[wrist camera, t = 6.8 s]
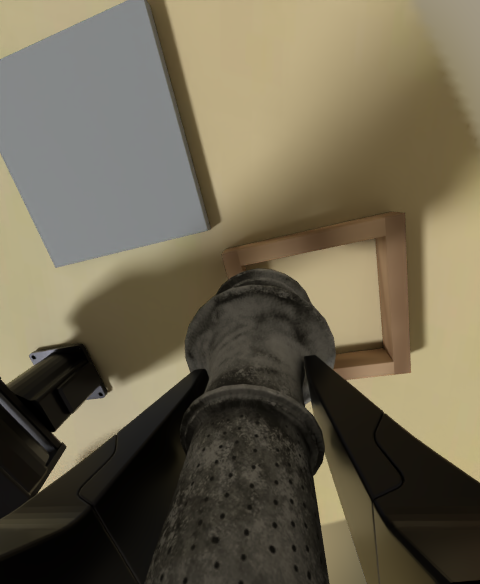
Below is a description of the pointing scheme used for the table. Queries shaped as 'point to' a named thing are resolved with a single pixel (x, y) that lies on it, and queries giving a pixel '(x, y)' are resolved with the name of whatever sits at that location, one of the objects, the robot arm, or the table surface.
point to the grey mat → (99, 138)
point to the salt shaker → (249, 442)
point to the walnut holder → (390, 277)
